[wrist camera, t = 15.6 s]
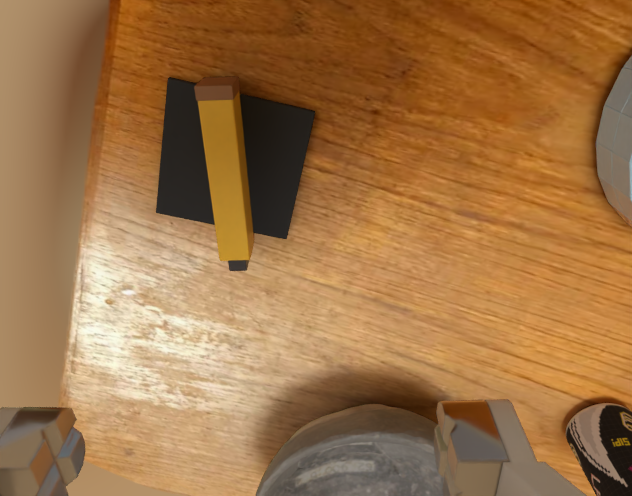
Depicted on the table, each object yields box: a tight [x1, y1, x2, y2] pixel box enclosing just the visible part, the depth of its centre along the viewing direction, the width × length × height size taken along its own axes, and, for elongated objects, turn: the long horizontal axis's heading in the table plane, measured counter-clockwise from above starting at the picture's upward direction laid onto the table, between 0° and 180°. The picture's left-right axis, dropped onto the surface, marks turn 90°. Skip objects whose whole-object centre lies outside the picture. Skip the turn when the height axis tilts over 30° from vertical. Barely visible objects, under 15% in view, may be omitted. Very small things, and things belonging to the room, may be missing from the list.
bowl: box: [256, 404, 444, 496], centre depth 42 cm, size 18×18×8 cm
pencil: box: [194, 76, 254, 271], centre depth 32 cm, size 12×2×3 cm, turn 2°
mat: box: [156, 77, 315, 239], centre depth 33 cm, size 9×9×1 cm
